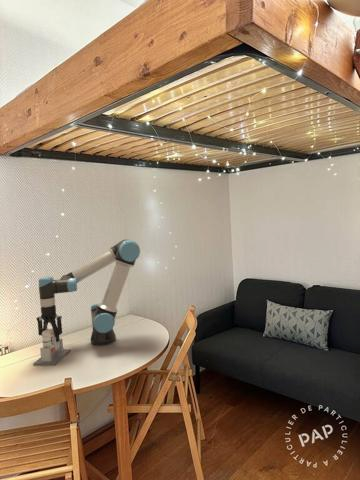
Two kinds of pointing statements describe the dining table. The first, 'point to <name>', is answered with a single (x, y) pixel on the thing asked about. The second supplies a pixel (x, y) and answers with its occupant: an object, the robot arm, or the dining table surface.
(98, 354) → the dining table surface
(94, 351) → the dining table surface
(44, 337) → the ink box
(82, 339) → the dining table surface
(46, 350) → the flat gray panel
